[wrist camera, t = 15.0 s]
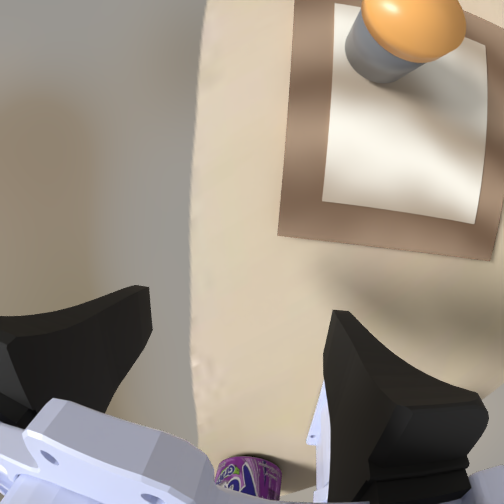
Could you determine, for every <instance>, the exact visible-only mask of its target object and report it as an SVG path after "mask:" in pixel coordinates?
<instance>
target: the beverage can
mask: <svg viewBox="0 0 504 504" xmlns="http://www.w3.org/2000/svg"><path fill="white" fill-rule="evenodd" d="M281 478H282V472H281V470H280V469H279V467H278V466H276V465H275V464H273V463H272V462H269V461H267V460H264V459H261V458H256V457H249V456H237V457H231V458H227V459H225V460H223V461H222V462H221V463H220V464H219V466H218V470H217V473H216V477H215V484H216V485H219V486H222V487H225V488H228V489H231V490H235V491H238V492H241V493H245V494H248V495H252V496H256V497H260V498H263V499H267V500H275V501H279V499H280V489H281Z"/></svg>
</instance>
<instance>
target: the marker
mask: <svg viewBox="0 0 504 504" xmlns="http://www.w3.org/2000/svg"><path fill="white" fill-rule="evenodd" d="M465 34H466V20H465V16H464V12H463V10H462V8H461V6H460V4H459V2H458V0H362V5H361V9H360V11H359V13H358V15H357V17H356V19H355V21H354V23H353V25H352V27H351V30H350V32H349V34H348V36H347V38H346V41H345V54H346V57H347V59H348V62H349V63H350V65H351V66H352V68H353V69H354V70H355V71H356V72H357V73H358V74H360V75H361V76H362V77H364V78H366V79H368V80H370V81H372V82H376V83H391V82H394V81H397V80H398V79H400V78H402V77H403V76H405V75H407V74H408V73H410V72H412V71H413V70H415V69H417V68H418V67H420V66H422V65H423V64H425V63H427V62H432V61H435V60H437V59H439V58H440V57H442V56H444V55H446V54H448V53H449V52H451V51H453V50H455V49H456V48H458V47H459V46H460V44H461V43H462V42H463V40H464V37H465Z"/></svg>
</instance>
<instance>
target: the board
mask: <svg viewBox="0 0 504 504" xmlns="http://www.w3.org/2000/svg"><path fill="white" fill-rule="evenodd" d="M361 5H362V0H295V4H294V23H293V41H292V57H291V73H290V88H289V102H288V116H287V129H286V142H285V155H284V167H283V179H282V190H281V202H280V213H279V224H278V234H277V236H284V237H294V238H303V239H312V240H321V241H330V242H339V243H348V244H357V245H366V246H374V247H383V248H391V249H399V250H407V251H416V252H424V253H431V254H439V255H447V256H455V257H462V258H470V259H477V260H485V261H490V259H491V255H492V251H493V247H494V243H495V239H496V234H497V230H498V225H499V220H500V215H501V210H502V204H503V198H504V29H503V28H501V27H499V26H497V25H495V24H493V23H491V22H489V21H487V20H484V19H482V18H480V17H478V16H475V15H473V14H471V13H469V12H466V11H464V10H463V12H464V16H465V20H466V34H465V37H464V40H463V42H462V43H461V44H460V46H459V47H458V48H456V49H455V50H453V51H451V52H449V53H448V54H446V55H444V56H442V57H440V58H439V59H437V60H435V61H432V62H427V63H425V64H423V65H422V66H420V67H418V68H417V69H415V70H413V71H412V72H410V73H408V74H407V75H405V76H403V77H402V78H400V79H398V80H397V81H394V82H391V83H376V82H372V81H370V80H368V79H366V78H364V77H362V76H361V75H360V74H358V73H357V72H356V71H355V70H354V69H353V68H352V66H351V65H350V63H349V62H348V59H347V57H346V54H345V41H346V38H347V36H348V34H349V32H350V30H351V27H352V25H353V23H354V21H355V19H356V17H357V15H358V13H359V11H360V9H361Z"/></svg>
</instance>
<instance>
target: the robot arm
mask: <svg viewBox="0 0 504 504" xmlns="http://www.w3.org/2000/svg"><path fill="white" fill-rule="evenodd" d="M152 330H153V329H152V318H151V307H150V294H149V287H145V286H138V285H134V286H130V287H127V288H124V289H121V290H118V291H115V292H113V293H110V294H108V295H105V296H102V297H100V298H97V299H94V300H91V301H89V302H86V303H83V304H80V305H77V306H74V307H70V308H66V309H63V310H58V311H54V312H48V313H42V314H35V315H26V316H0V493H2V494H3V495H4V498H3V500H2V501H1V502H0V504H504V465H498V466H495V467H492V468H488V469H484V470H481V471H478V472H475V473H473V474H472V475H470V476H469V477H468V476H467V473H466V470H465V469H466V468H468V466H469V460H468V458H467V454H468V453H469V452H470V450H471V449H472V448H473V447H474V445H475V444H476V443H477V441H478V440H479V438H480V437H481V436H482V434H483V432H484V430H485V429H486V427H487V424H488V420H489V416H488V411H487V409H486V408H485V406H484V404H483V402H482V400H481V399H480V397H479V395H478V393H476V392H472V391H469V390H466V389H462V388H459V387H456V386H453V385H450V384H448V383H445V382H443V381H440V380H438V379H436V378H434V377H431V376H429V375H427V374H426V373H424V372H422V371H420V370H418V369H416V368H415V367H413V366H411V365H410V364H408V363H407V362H405V361H404V360H402V359H401V358H399V357H398V356H397V355H395V354H394V353H393V352H391V351H390V350H389V349H388V348H386V347H385V346H384V345H383V344H382V343H381V342H379V341H378V340H377V339H376V338H375V337H374V336H373V335H372V334H371V333H370V332H369V331H368V330H367V329H366V328H365V327H364V326H363V325H362V324H361V323H360V322H359V321H358V320H357V319H356V318H355V317H354V316H353V315H352V314H351V313H350V312H349V311H341V310H333V311H332V316H331V321H330V326H329V330H328V335H327V339H326V344H325V348H324V353H323V375H324V381H323V384H322V388H321V392H320V395H319V399H318V402H317V406H316V409H315V413H314V416H313V419H312V423H311V426H310V429H309V432H308V435H307V439H306V443H307V444H308V445H316V489H317V490H316V491H314V499H313V501H314V502H313V503H307V502H287V501H275V500H267V499H263V498H260V497H256V496H252V495H248V494H245V493H241V492H238V491H235V490H231V489H228V488H225V487H222V486H219V485H216V484H215V481H214V468H213V466H212V464H211V462H210V460H209V459H208V457H207V455H206V454H205V453H204V452H203V451H201V450H200V449H198V448H197V447H196V446H194V445H193V444H191V443H190V442H189V441H187V440H186V439H183V438H180V437H178V436H175V435H172V434H170V433H167V432H165V431H162V430H158V429H154V428H150V427H146V426H143V425H140V424H136V423H133V422H129V421H126V420H123V419H120V418H117V417H113V416H111V415H108V414H105V412H106V410H107V407H108V405H109V403H110V401H111V399H112V397H113V395H114V393H115V391H116V390H117V388H118V386H119V385H120V383H121V382H122V380H123V379H124V377H125V376H126V375H127V373H128V372H129V370H130V369H131V367H132V366H133V364H134V363H135V361H136V360H137V358H138V357H139V355H140V354H141V352H142V351H143V349H144V348H145V346H146V343H147V341H148V339H149V337H150V335H151V333H152Z"/></svg>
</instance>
